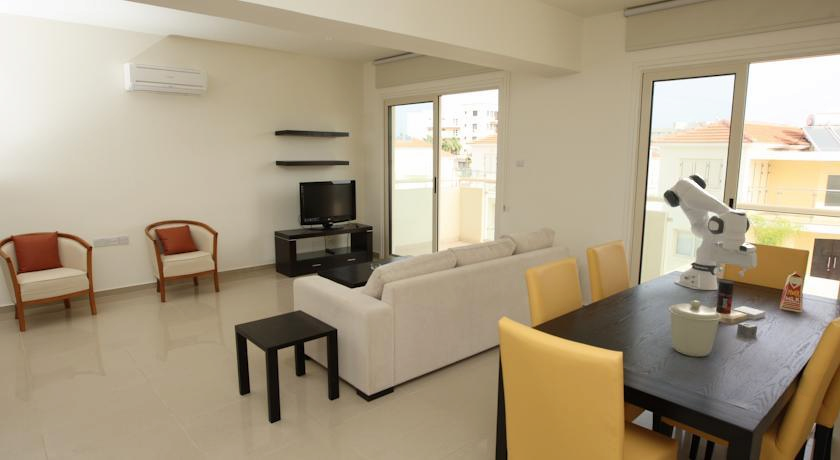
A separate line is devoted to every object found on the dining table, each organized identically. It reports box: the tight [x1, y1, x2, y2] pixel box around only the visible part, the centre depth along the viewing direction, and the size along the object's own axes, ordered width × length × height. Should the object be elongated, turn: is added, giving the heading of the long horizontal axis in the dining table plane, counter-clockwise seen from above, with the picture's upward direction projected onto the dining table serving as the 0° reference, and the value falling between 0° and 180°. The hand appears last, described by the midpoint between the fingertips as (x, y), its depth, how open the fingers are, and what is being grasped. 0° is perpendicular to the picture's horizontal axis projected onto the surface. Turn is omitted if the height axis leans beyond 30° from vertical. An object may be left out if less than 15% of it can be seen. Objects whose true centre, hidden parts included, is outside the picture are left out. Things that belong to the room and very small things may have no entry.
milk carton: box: [779, 270, 804, 313], centre depth 252 cm, size 9×9×20 cm
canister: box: [668, 299, 721, 358], centre depth 196 cm, size 18×18×21 cm
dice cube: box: [736, 321, 758, 339], centre depth 216 cm, size 5×5×5 cm
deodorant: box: [716, 279, 735, 314], centre depth 237 cm, size 6×6×15 cm
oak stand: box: [710, 306, 748, 325], centre depth 239 cm, size 14×14×3 cm
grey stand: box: [732, 305, 766, 321], centre depth 243 cm, size 10×10×2 cm
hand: (730, 273), depth 235 cm, fingers open, 8 cm apart
